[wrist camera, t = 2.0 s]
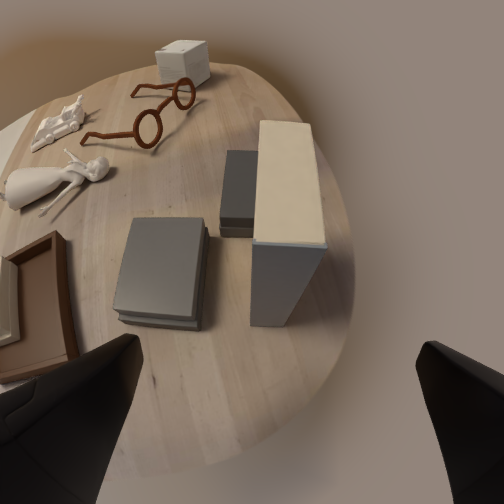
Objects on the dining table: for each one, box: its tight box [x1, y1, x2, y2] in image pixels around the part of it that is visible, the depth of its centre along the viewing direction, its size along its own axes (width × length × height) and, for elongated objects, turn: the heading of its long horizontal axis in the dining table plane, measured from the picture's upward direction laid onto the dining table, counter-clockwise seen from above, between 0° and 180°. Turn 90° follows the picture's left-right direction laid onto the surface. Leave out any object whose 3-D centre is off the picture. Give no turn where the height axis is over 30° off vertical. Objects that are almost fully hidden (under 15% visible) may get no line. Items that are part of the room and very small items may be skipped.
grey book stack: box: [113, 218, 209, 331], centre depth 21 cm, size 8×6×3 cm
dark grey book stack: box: [219, 150, 258, 237], centre depth 25 cm, size 8×6×3 cm
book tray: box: [0, 230, 80, 384], centre depth 19 cm, size 13×13×2 cm
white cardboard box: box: [155, 40, 210, 92], centre depth 34 cm, size 6×6×7 cm
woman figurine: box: [0, 148, 109, 218], centre depth 26 cm, size 12×4×18 cm
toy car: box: [31, 94, 85, 152], centre depth 31 cm, size 6×12×4 cm, turn 110°
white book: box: [250, 120, 327, 327], centre depth 16 cm, size 7×2×13 cm, turn 177°
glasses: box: [80, 77, 196, 149], centre depth 30 cm, size 13×13×5 cm
